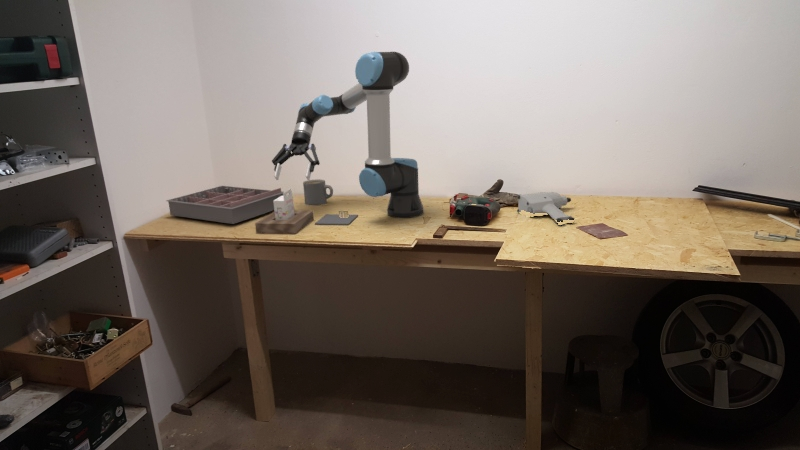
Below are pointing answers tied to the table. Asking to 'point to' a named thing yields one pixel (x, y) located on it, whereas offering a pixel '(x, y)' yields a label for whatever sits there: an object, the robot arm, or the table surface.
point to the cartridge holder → (284, 223)
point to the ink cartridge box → (284, 206)
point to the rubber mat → (335, 220)
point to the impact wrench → (544, 204)
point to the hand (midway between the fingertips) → (291, 178)
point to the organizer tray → (225, 204)
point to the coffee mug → (316, 192)
